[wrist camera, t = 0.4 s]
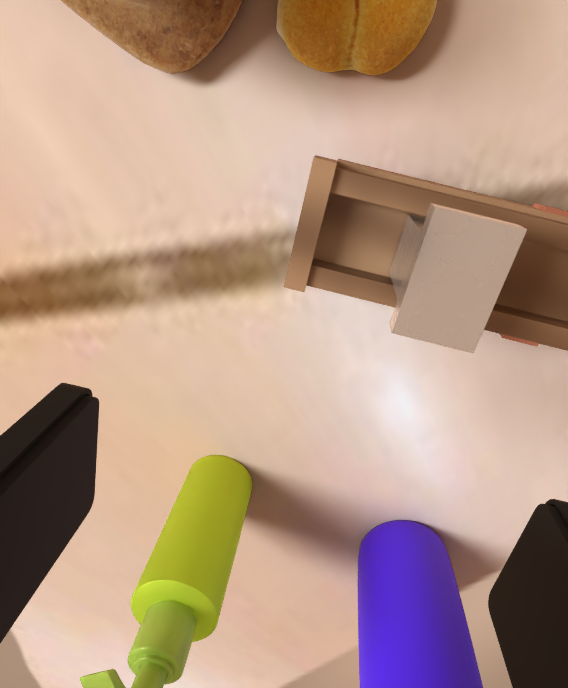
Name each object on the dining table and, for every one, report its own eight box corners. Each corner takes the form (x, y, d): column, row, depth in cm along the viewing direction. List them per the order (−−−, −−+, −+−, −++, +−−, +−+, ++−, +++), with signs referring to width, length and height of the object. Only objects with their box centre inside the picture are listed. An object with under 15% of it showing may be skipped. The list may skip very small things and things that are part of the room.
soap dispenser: (226, 437, 42) (135, 674, 23) (263, 496, 44) (206, 756, 26) (170, 458, 43) (44, 695, 25) (208, 514, 45) (118, 770, 27)
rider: (415, 190, 26) (435, 206, 21) (487, 208, 26) (527, 229, 21) (382, 293, 29) (391, 332, 23) (448, 309, 29) (473, 353, 23)
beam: (321, 147, 32) (314, 153, 24) (735, 249, 31) (854, 285, 24) (296, 256, 35) (282, 290, 27) (672, 350, 34) (760, 409, 27)
